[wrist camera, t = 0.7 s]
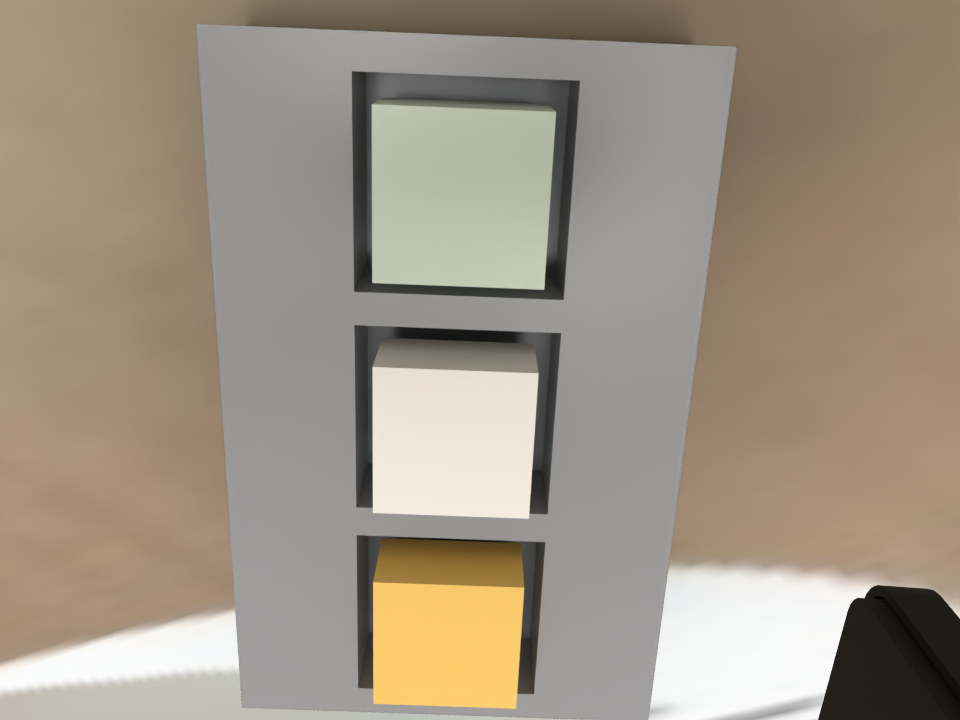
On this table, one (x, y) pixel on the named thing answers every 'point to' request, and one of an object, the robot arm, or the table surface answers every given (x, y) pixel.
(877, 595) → the robot arm
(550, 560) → the key console
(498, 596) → the amber key
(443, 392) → the middle key
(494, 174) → the sage key
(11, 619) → the table surface
